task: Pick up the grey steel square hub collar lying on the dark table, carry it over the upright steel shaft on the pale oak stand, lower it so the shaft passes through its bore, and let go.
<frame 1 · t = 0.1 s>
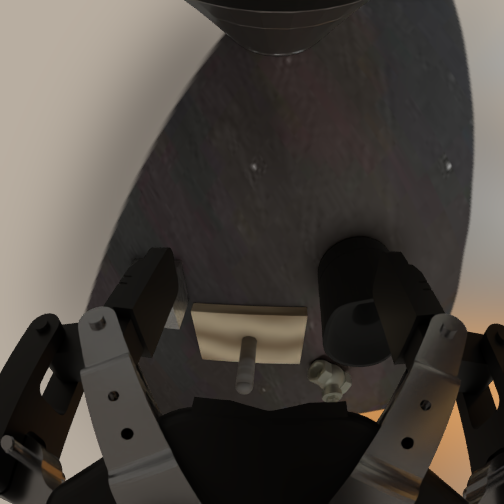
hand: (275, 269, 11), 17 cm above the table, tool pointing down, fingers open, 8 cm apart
hub: (162, 279, 35), on the table
shaft stand: (250, 332, 39), on the table
valve: (329, 365, 42), on the table
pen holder: (354, 267, 32), on the table
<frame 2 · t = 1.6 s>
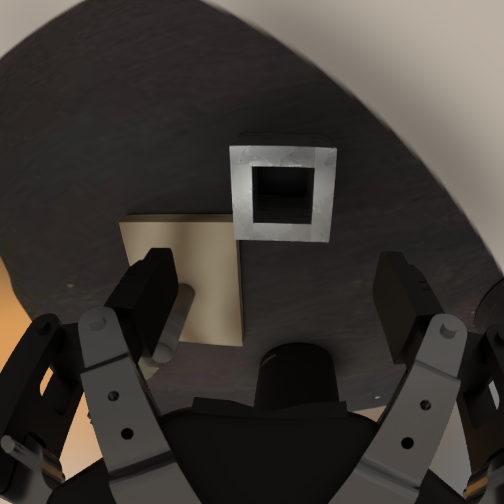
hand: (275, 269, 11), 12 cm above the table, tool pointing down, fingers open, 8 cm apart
hub: (282, 172, 21), on the table
shaft stand: (189, 282, 28), on the table
valve: (146, 350, 35), on the table
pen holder: (296, 363, 33), on the table
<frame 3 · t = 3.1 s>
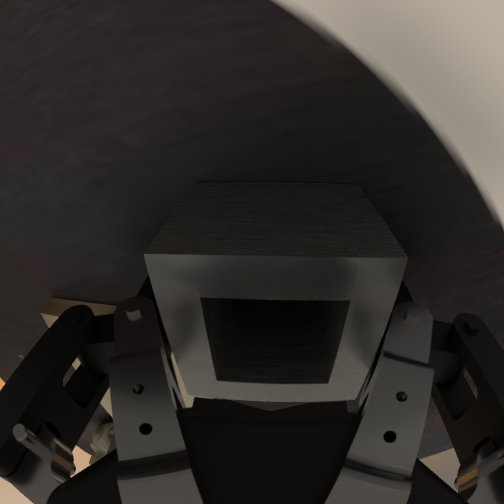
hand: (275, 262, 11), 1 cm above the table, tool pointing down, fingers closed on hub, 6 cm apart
hub: (276, 252, 12), on the table, touching gripper
shaft stand: (149, 379, 18), on the table
valve: (117, 425, 25), on the table
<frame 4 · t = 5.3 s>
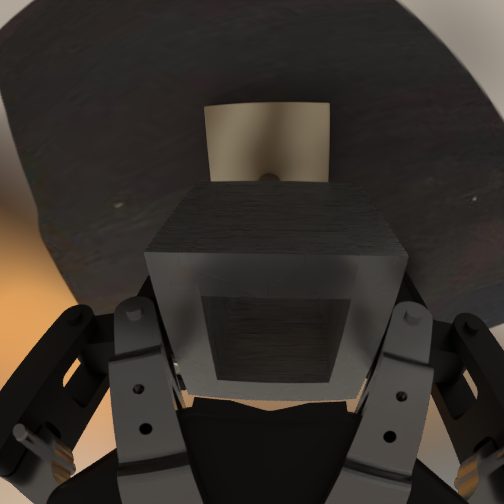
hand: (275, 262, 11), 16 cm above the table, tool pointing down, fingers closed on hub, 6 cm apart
hub: (276, 251, 12), point 15 cm above the table, touching gripper
shaft stand: (269, 179, 26), on the table
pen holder: (369, 284, 31), on the table
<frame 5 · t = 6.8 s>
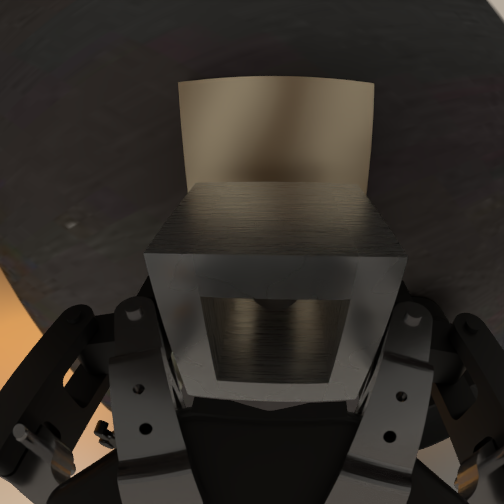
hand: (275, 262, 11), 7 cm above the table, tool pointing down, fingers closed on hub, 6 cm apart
hub: (276, 252, 12), point 6 cm above the table, touching gripper
shaft stand: (277, 194, 17), on the table
valve: (181, 327, 25), on the table
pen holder: (397, 330, 23), on the table
when the fingers open (4 cm above the table, at t = 7.9 s): hub drops 2 cm, resting on shaft stand.
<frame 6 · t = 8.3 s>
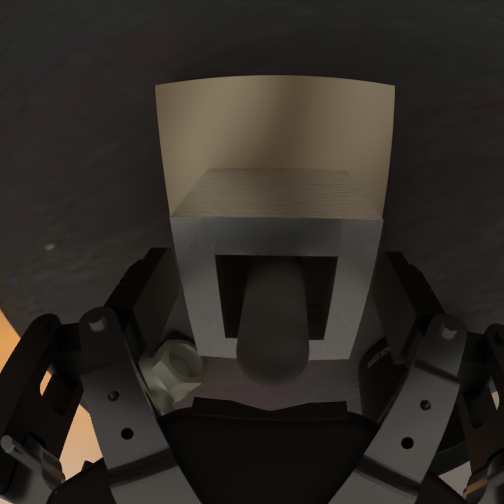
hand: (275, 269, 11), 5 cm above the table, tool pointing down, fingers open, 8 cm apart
hub: (276, 230, 14), point 1 cm above the table, touching shaft stand
shaft stand: (276, 217, 15), on the table
valve: (172, 354, 22), on the table
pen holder: (406, 356, 21), on the table
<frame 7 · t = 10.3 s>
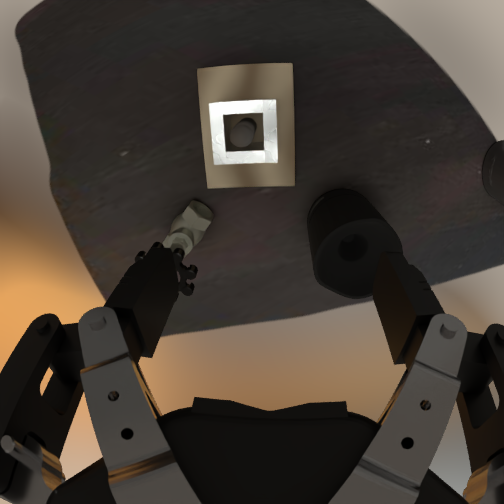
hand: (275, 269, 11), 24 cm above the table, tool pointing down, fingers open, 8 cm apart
hub: (247, 126, 30), point 1 cm above the table, touching shaft stand
shaft stand: (248, 124, 31), on the table
valve: (192, 221, 38), on the table
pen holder: (339, 219, 36), on the table
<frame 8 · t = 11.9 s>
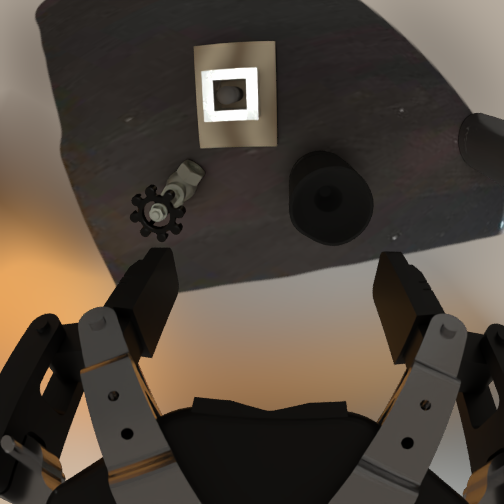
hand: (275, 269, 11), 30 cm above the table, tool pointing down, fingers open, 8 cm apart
hub: (235, 93, 33), point 1 cm above the table, touching shaft stand
shaft stand: (237, 93, 34), on the table
valve: (186, 180, 41), on the table
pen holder: (320, 179, 39), on the table
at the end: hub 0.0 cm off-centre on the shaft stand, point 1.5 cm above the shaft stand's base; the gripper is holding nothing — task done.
